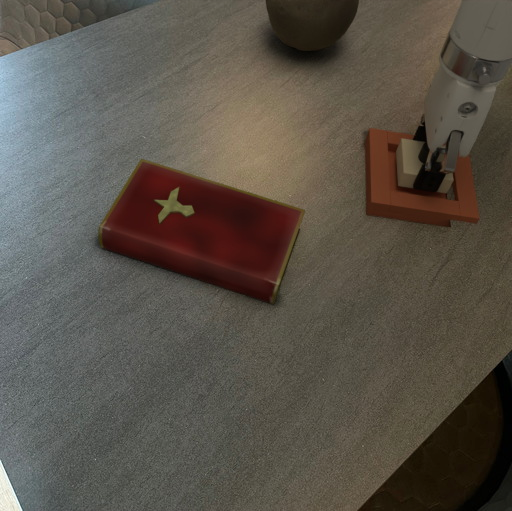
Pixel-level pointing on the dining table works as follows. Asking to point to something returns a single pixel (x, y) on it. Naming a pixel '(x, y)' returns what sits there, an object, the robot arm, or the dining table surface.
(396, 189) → the base pad
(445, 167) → the robot arm
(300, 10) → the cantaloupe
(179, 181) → the hardcover book
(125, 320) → the dining table surface
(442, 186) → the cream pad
